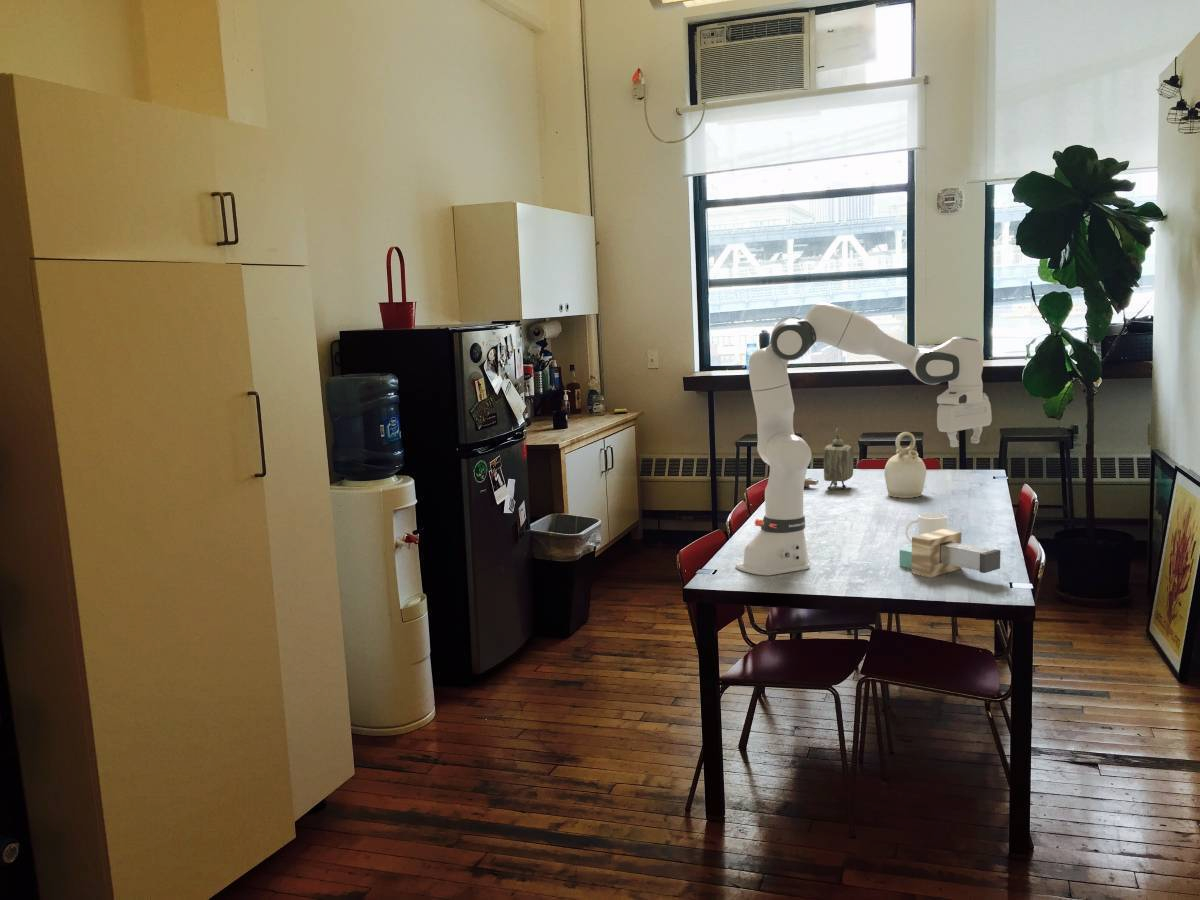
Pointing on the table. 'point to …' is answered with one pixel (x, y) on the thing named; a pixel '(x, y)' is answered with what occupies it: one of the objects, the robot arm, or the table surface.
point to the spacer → (906, 557)
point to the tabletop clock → (838, 462)
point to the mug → (929, 523)
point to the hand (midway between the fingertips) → (964, 445)
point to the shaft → (970, 556)
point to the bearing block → (932, 552)
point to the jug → (905, 471)
